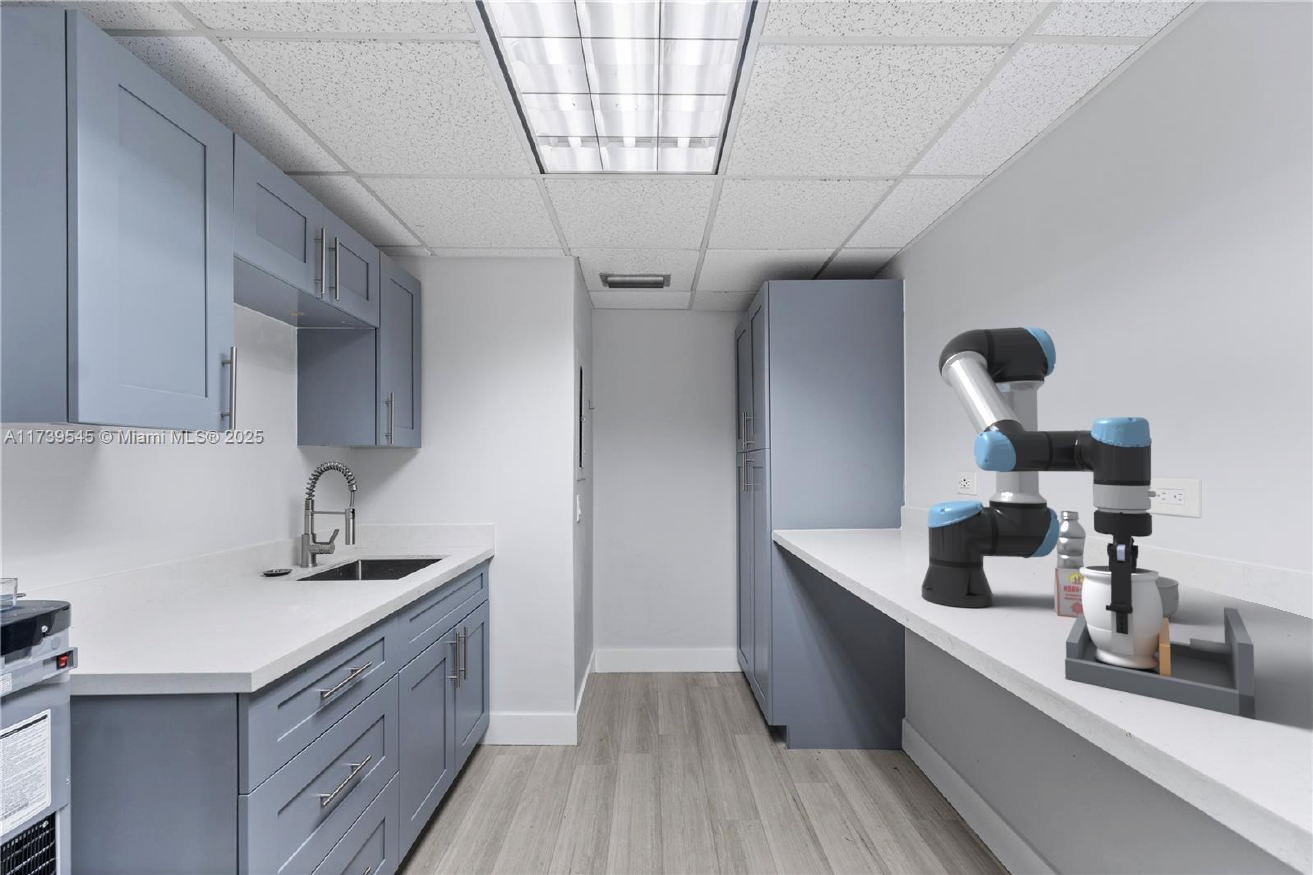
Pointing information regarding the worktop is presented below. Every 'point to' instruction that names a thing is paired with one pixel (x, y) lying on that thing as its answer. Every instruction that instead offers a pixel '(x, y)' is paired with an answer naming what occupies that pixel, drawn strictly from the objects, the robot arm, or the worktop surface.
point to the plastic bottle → (1070, 542)
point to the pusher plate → (1164, 649)
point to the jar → (1144, 612)
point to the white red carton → (1068, 592)
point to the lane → (1177, 669)
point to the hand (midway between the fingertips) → (1124, 643)
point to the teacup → (1168, 595)
